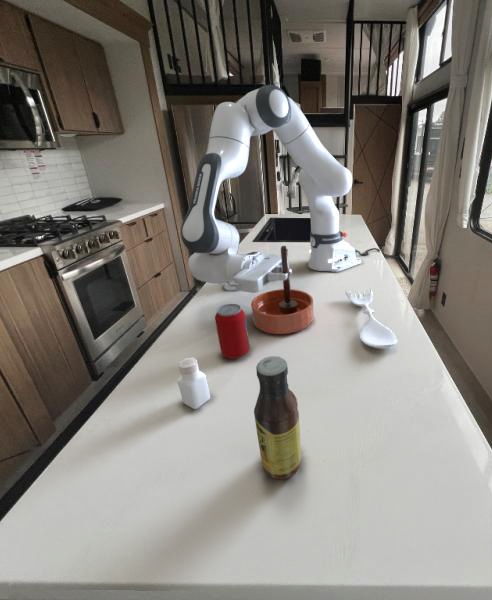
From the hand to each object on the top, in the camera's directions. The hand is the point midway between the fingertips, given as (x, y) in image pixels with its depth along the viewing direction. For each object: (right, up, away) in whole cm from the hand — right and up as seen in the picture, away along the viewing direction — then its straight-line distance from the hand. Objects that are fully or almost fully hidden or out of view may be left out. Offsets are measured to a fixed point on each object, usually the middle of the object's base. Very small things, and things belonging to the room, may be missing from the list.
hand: (288, 274), depth 88 cm
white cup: (-22, -3, +28) cm, 36 cm away
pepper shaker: (-16, -27, -24) cm, 40 cm away
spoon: (+22, -13, +3) cm, 26 cm away
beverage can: (-12, -20, -9) cm, 25 cm away
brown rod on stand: (-1, -10, +5) cm, 11 cm away
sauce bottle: (+3, -33, -37) cm, 50 cm away
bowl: (-2, -13, +5) cm, 14 cm away
